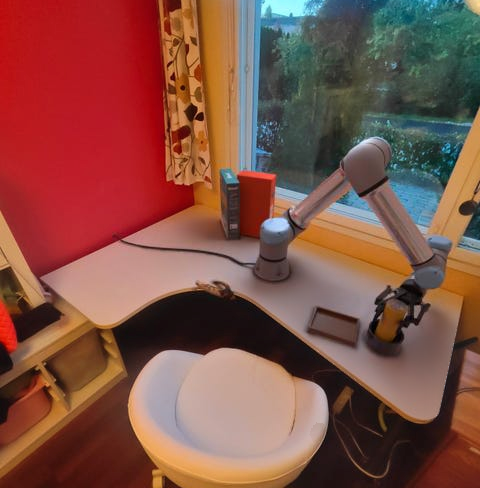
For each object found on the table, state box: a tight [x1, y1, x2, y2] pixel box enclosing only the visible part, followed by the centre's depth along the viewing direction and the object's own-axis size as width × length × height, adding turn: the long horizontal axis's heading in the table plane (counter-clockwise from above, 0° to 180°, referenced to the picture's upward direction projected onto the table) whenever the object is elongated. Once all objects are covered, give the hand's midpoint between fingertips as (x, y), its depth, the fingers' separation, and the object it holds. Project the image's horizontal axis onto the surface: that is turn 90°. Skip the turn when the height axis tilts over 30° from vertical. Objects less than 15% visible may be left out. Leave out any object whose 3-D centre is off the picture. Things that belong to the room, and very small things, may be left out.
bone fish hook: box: [195, 279, 236, 301], centre depth 113 cm, size 9×5×18 cm
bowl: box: [364, 318, 405, 357], centre depth 92 cm, size 10×10×6 cm
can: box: [374, 299, 408, 343], centre depth 89 cm, size 6×6×16 cm
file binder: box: [236, 169, 277, 239], centre depth 145 cm, size 8×17×32 cm, turn 68°
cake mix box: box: [218, 168, 240, 240], centre depth 149 cm, size 22×6×30 cm, turn 12°
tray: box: [307, 305, 360, 348], centre depth 98 cm, size 15×12×2 cm
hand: (386, 324), depth 84 cm, fingers open, 6 cm apart
